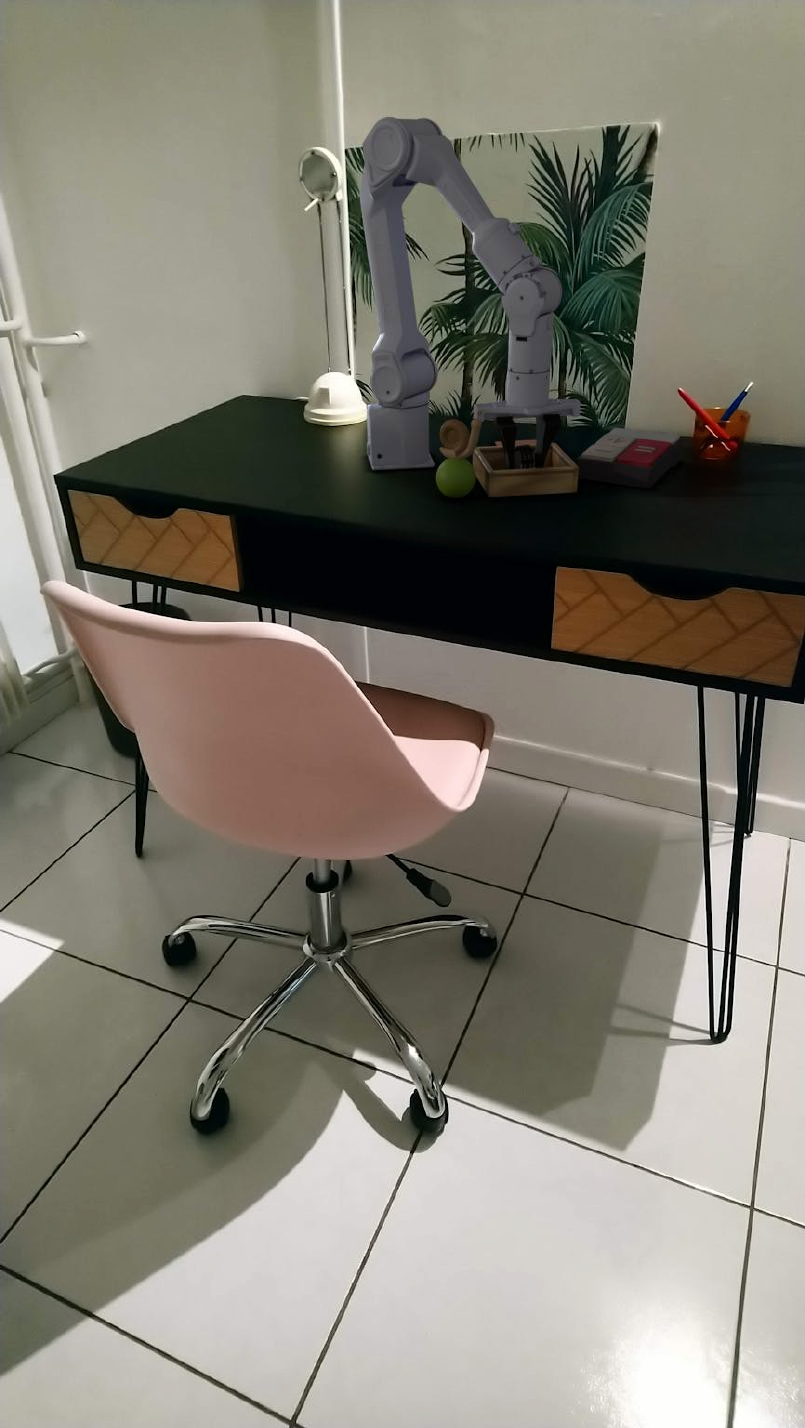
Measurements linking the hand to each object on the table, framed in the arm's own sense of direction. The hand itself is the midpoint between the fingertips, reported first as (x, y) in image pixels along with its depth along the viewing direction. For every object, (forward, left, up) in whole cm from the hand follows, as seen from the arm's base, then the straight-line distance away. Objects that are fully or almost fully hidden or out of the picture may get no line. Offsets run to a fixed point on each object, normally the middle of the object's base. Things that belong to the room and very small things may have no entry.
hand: (524, 469), depth 127 cm
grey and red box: (+16, +3, -2) cm, 17 cm away
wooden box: (0, 0, -2) cm, 2 cm away
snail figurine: (-10, -6, -2) cm, 12 cm away
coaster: (+4, +16, -2) cm, 16 cm away
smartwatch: (0, 0, -2) cm, 2 cm away
